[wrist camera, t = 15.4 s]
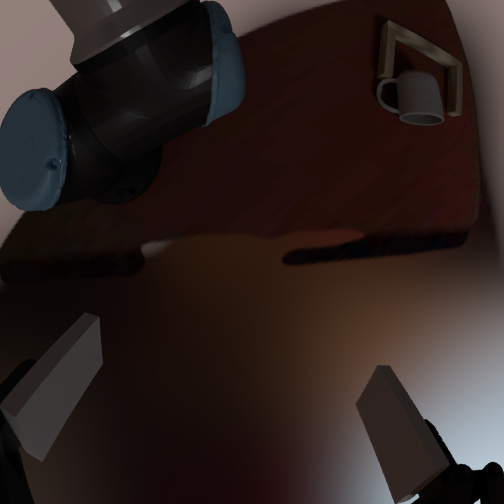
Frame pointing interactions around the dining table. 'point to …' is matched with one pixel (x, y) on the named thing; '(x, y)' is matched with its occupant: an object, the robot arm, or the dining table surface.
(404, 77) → the ceramic mug
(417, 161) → the dining table surface
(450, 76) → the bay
